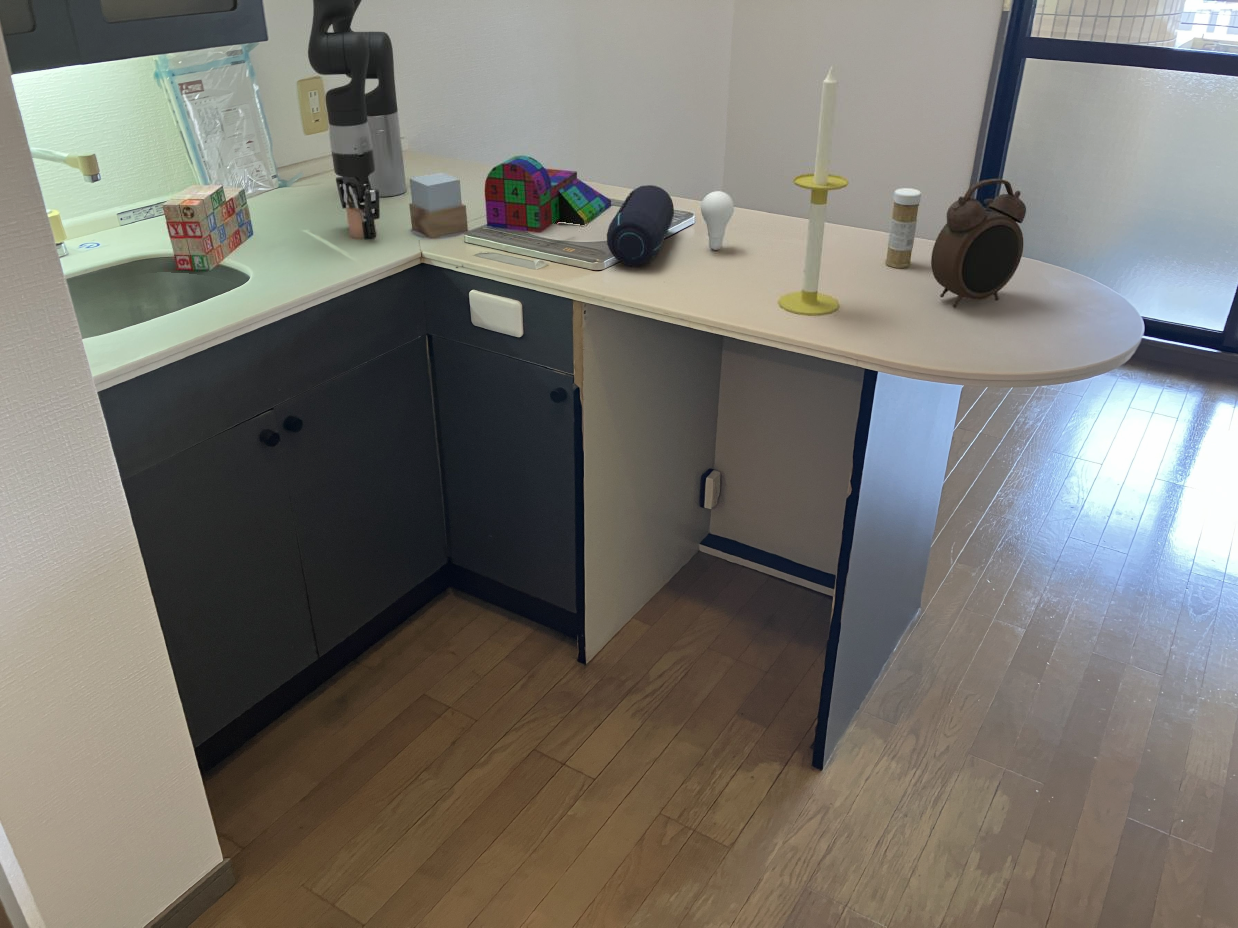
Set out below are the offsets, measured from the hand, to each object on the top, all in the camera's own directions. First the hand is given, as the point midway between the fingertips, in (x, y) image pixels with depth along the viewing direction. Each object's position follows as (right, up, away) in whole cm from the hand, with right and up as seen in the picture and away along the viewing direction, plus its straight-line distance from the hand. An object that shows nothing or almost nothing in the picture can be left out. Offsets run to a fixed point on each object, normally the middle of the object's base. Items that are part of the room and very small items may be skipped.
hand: (363, 235), depth 197 cm
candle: (+81, -18, -30) cm, 89 cm away
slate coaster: (+14, +1, +2) cm, 15 cm away
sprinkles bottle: (+101, -9, -14) cm, 102 cm away
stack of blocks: (-26, -4, -5) cm, 27 cm away
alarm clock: (+108, -18, -29) cm, 114 cm away
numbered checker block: (+36, +6, +12) cm, 38 cm away
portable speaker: (+54, -4, -5) cm, 55 cm away
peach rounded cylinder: (0, -1, 0) cm, 1 cm away
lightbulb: (+68, -4, -6) cm, 69 cm away
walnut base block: (+14, +2, +2) cm, 15 cm away
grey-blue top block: (+14, +6, -1) cm, 16 cm away
